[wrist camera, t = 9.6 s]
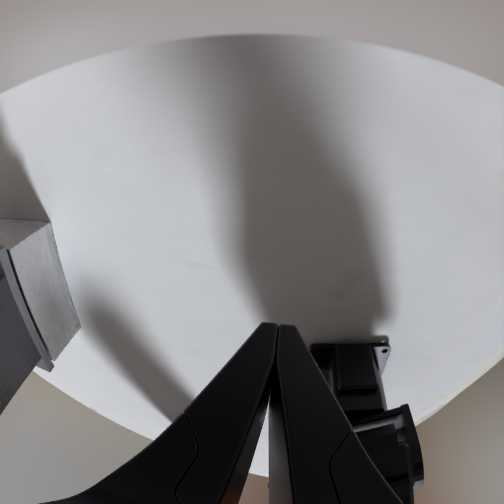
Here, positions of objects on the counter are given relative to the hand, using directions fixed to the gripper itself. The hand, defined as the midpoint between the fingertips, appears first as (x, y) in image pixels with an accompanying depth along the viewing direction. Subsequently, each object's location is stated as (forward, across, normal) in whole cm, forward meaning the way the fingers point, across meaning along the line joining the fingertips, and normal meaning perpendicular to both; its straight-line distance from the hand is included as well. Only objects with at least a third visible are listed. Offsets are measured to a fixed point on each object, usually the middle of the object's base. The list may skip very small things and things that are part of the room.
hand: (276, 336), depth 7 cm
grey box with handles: (+11, +23, +8) cm, 27 cm away
